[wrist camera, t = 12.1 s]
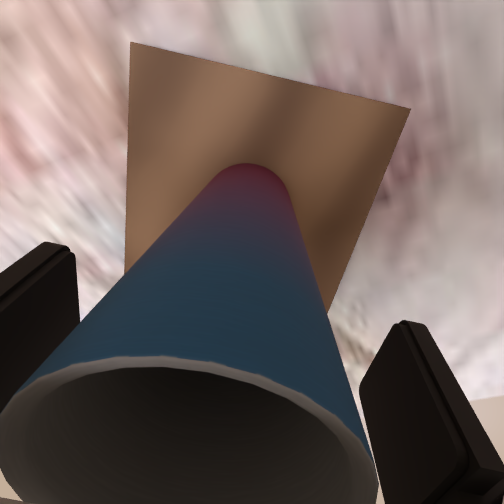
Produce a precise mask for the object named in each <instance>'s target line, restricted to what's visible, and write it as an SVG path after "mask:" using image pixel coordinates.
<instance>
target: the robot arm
mask: <svg viewBox="0 0 504 504" xmlns="http://www.w3.org/2000/svg"><path fill="white" fill-rule="evenodd" d="M79 323H80V313H79V299H78V285H77V272H76V258H75V254H74V253H72V252H70V249H69V247H67V246H64V245H60V244H55V243H51V242H43V243H41V244H40V245H39V246H37V247H36V248H34V249H33V250H32V251H30V252H29V253H27V254H26V255H25V256H23V257H22V258H21V259H19V260H18V261H16V262H15V263H14V264H12V265H11V266H9V267H8V268H7V269H5V270H4V271H2V272H1V273H0V413H1V412H2V411H3V409H4V408H5V406H6V405H7V403H8V402H9V401H10V399H11V398H12V396H13V395H14V394H15V393H16V392H17V391H18V389H19V388H20V387H21V386H22V385H23V384H24V383H25V382H26V381H27V380H28V379H29V377H30V376H31V375H32V374H33V373H34V372H35V371H36V370H37V369H38V368H39V367H40V366H41V364H42V363H43V362H44V361H45V360H46V359H47V358H48V357H49V356H50V355H51V354H52V353H53V351H54V350H55V349H56V348H57V347H58V346H59V345H60V344H61V343H62V342H63V341H64V340H65V338H66V337H67V336H68V335H69V334H70V333H71V332H72V331H73V330H74V329H75V328H76V326H77V325H78V324H79ZM359 396H360V400H361V404H362V409H363V413H364V417H365V421H366V425H367V430H368V433H369V438H370V442H371V447H372V451H373V455H374V459H375V463H376V468H377V472H378V476H379V480H380V485H381V489H382V493H383V497H384V501H385V504H504V464H503V462H502V460H501V458H500V457H499V455H498V453H497V451H496V450H495V448H494V446H493V444H492V443H491V441H490V439H489V437H488V435H487V434H486V432H485V430H484V428H483V427H482V425H481V423H480V421H479V419H478V418H477V416H476V414H475V412H474V410H473V409H472V407H471V405H470V403H469V401H468V400H467V398H466V396H465V394H464V393H463V391H462V389H461V387H460V385H459V384H458V382H457V380H456V378H455V377H454V375H453V373H452V371H451V369H450V368H449V366H448V364H447V362H446V361H445V359H444V357H443V355H442V353H441V352H440V350H439V348H438V346H437V345H436V343H435V341H434V339H433V337H432V336H431V334H430V332H429V330H428V329H427V327H426V326H425V325H424V324H421V323H416V322H412V321H407V320H402V321H401V322H400V323H399V324H397V323H396V324H394V325H393V326H392V328H391V330H390V331H389V333H388V335H387V337H386V338H385V340H384V342H383V344H382V346H381V347H380V349H379V351H378V353H377V354H376V356H375V358H374V360H373V362H372V363H371V365H370V367H369V369H368V370H367V372H366V374H365V376H364V378H363V379H362V381H361V383H360V386H359ZM0 504H33V503H28V502H23V501H17V500H12V499H7V498H1V497H0Z"/></svg>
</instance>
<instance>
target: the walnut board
mask: <svg viewBox="0 0 504 504" xmlns="http://www.w3.org/2000/svg"><path fill="white" fill-rule="evenodd" d="M410 110H411V109H409V108H405V107H401V106H397V105H392V104H388V103H384V102H380V101H376V100H372V99H367V98H363V97H359V96H355V95H351V94H347V93H342V92H338V91H334V90H330V89H326V88H322V87H317V86H313V85H309V84H305V83H301V82H297V81H292V80H288V79H284V78H280V77H276V76H272V75H267V74H263V73H259V72H255V71H251V70H247V69H242V68H238V67H234V66H230V65H226V64H222V63H217V62H213V61H209V60H205V59H201V58H196V57H192V56H188V55H184V54H180V53H176V52H171V51H167V50H163V49H159V48H155V47H151V46H146V45H142V44H138V43H134V42H130V75H129V114H128V152H127V191H126V230H125V268H124V274H125V273H126V272H127V271H128V270H129V269H130V268H131V267H132V266H133V265H134V264H135V262H136V261H137V260H138V259H139V258H140V257H141V256H142V255H143V254H144V253H145V252H146V251H147V249H148V248H149V247H150V246H151V245H152V244H153V243H154V242H155V241H156V240H157V239H158V238H159V236H160V235H161V234H162V233H163V232H164V231H165V230H166V229H167V228H168V227H169V226H170V225H171V223H172V222H173V221H174V220H175V219H176V218H177V217H178V216H179V215H180V214H181V213H182V211H183V210H184V209H185V208H186V207H187V206H188V205H189V204H190V203H191V202H192V201H193V200H194V198H195V197H196V196H197V195H198V194H199V193H200V192H201V191H202V190H203V189H204V188H205V187H206V185H207V184H208V183H209V182H210V181H211V180H212V179H213V178H214V177H215V176H216V175H217V174H218V173H219V172H221V171H222V170H223V169H225V168H227V167H229V166H232V165H236V164H242V163H251V164H257V165H260V166H263V167H266V168H267V169H269V170H271V171H272V172H274V173H275V174H276V175H277V176H278V177H279V178H280V179H281V180H282V182H283V183H284V184H285V187H286V189H287V191H288V193H289V196H290V200H291V203H292V206H293V209H294V212H295V215H296V218H297V222H298V225H299V228H300V231H301V234H302V237H303V240H304V243H305V247H306V250H307V253H308V256H309V259H310V262H311V265H312V269H313V272H314V275H315V278H316V281H317V284H318V287H319V291H320V294H321V297H322V300H323V303H324V306H325V309H326V312H327V313H328V311H329V308H330V306H331V303H332V301H333V299H334V296H335V294H336V291H337V289H338V286H339V284H340V281H341V279H342V276H343V274H344V272H345V269H346V267H347V264H348V262H349V259H350V257H351V254H352V252H353V250H354V247H355V245H356V242H357V240H358V237H359V235H360V232H361V230H362V228H363V225H364V223H365V220H366V218H367V215H368V213H369V210H370V208H371V206H372V203H373V201H374V198H375V196H376V193H377V191H378V188H379V186H380V184H381V181H382V179H383V176H384V174H385V171H386V169H387V166H388V164H389V162H390V159H391V157H392V154H393V152H394V149H395V147H396V144H397V142H398V140H399V137H400V135H401V132H402V130H403V127H404V125H405V122H406V120H407V117H408V115H409V113H410Z"/></svg>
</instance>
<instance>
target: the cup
mask: <svg viewBox="0 0 504 504" xmlns="http://www.w3.org/2000/svg"><path fill="white" fill-rule="evenodd" d="M0 468H1V471H2V473H3V475H4V477H5V479H6V481H7V482H8V484H9V485H10V486H11V487H12V489H13V490H14V491H15V492H16V494H18V496H19V497H20V499H21V500H23V502H28V503H33V504H376V499H377V492H378V486H379V483H378V478H377V473H376V469H375V464H374V460H373V457H372V454H371V451H370V448H369V444H368V441H367V438H366V435H365V432H364V429H363V425H362V423H361V419H360V416H359V413H358V410H357V407H356V403H355V400H354V397H353V394H352V391H351V388H350V385H349V381H348V378H347V375H346V372H345V369H344V366H343V363H342V360H341V356H340V353H339V350H338V347H337V344H336V341H335V338H334V334H333V331H332V328H331V325H330V322H329V319H328V316H327V312H326V309H325V306H324V303H323V300H322V297H321V294H320V291H319V287H318V284H317V281H316V278H315V275H314V272H313V269H312V265H311V262H310V259H309V256H308V253H307V250H306V247H305V243H304V240H303V237H302V234H301V231H300V228H299V225H298V222H297V218H296V215H295V212H294V209H293V206H292V203H291V200H290V196H289V193H288V191H287V189H286V187H285V184H284V183H283V182H282V180H281V179H280V178H279V177H278V176H277V175H276V174H275V173H274V172H272V171H271V170H269V169H267V168H266V167H263V166H260V165H257V164H251V163H242V164H236V165H232V166H229V167H227V168H225V169H223V170H222V171H221V172H219V173H218V174H217V175H216V176H215V177H214V178H213V179H212V180H211V181H210V182H209V183H208V184H207V185H206V187H205V188H204V189H203V190H202V191H201V192H200V193H199V194H198V195H197V196H196V197H195V198H194V200H193V201H192V202H191V203H190V204H189V205H188V206H187V207H186V208H185V209H184V210H183V211H182V213H181V214H180V215H179V216H178V217H177V218H176V219H175V220H174V221H173V222H172V223H171V225H170V226H169V227H168V228H167V229H166V230H165V231H164V232H163V233H162V234H161V235H160V236H159V238H158V239H157V240H156V241H155V242H154V243H153V244H152V245H151V246H150V247H149V248H148V249H147V251H146V252H145V253H144V254H143V255H142V256H141V257H140V258H139V259H138V260H137V261H136V262H135V264H134V265H133V266H132V267H131V268H130V269H129V270H128V271H127V272H126V273H125V274H124V276H123V277H122V278H121V279H120V280H119V281H118V282H117V283H116V284H115V285H114V286H113V287H112V289H111V290H110V291H109V292H108V293H107V294H106V295H105V296H104V297H103V298H102V299H101V300H100V302H99V303H98V304H97V305H96V306H95V307H94V308H93V309H92V310H91V311H90V312H89V313H88V315H87V316H86V317H85V318H84V319H83V320H82V321H81V322H80V323H79V324H78V325H77V326H76V328H75V329H74V330H73V331H72V332H71V333H70V334H69V335H68V336H67V337H66V338H65V340H64V341H63V342H62V343H61V344H60V345H59V346H58V347H57V348H56V349H55V350H54V351H53V353H52V354H51V355H50V356H49V357H48V358H47V359H46V360H45V361H44V362H43V363H42V364H41V366H40V367H39V368H38V369H37V370H36V371H35V372H34V373H33V374H32V375H31V376H30V377H29V379H28V380H27V381H26V382H25V383H24V384H23V385H22V386H21V387H20V388H19V389H18V391H17V392H16V393H15V394H14V395H13V396H12V398H11V399H10V401H9V402H8V403H7V405H6V406H5V408H4V409H3V411H2V412H1V413H0Z"/></svg>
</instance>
